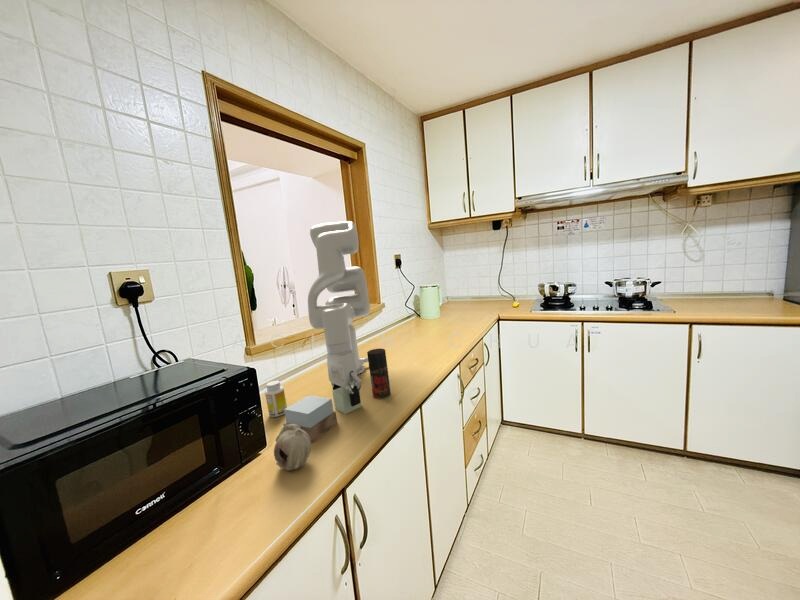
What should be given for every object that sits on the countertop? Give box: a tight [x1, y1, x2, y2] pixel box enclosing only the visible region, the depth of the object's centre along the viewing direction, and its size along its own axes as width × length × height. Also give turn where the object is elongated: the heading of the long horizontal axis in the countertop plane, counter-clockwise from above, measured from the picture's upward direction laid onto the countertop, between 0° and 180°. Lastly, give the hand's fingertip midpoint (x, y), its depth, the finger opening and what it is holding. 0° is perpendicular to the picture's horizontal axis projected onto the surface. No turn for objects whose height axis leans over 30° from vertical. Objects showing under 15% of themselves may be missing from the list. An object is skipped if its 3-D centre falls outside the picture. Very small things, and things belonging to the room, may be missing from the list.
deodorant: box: [366, 348, 392, 400], centre depth 107 cm, size 6×6×15 cm
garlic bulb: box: [273, 424, 312, 472], centre depth 75 cm, size 10×8×10 cm
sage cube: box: [332, 385, 363, 415], centre depth 102 cm, size 6×6×6 cm
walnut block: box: [282, 410, 338, 444], centre depth 91 cm, size 10×10×4 cm
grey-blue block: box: [284, 394, 334, 428], centre depth 90 cm, size 9×9×4 cm
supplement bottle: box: [264, 380, 288, 418], centre depth 103 cm, size 6×6×10 cm
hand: (347, 400), depth 101 cm, fingers open, 9 cm apart
